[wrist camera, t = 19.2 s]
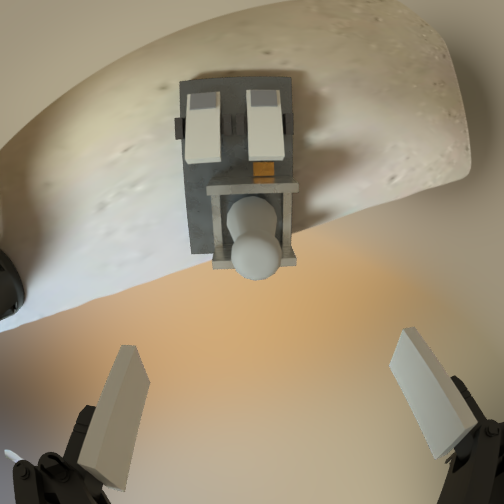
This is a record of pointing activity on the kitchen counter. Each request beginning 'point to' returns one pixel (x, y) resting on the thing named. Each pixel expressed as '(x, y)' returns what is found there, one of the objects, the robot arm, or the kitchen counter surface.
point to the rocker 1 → (203, 128)
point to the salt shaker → (254, 238)
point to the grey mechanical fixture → (236, 169)
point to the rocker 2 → (264, 125)
